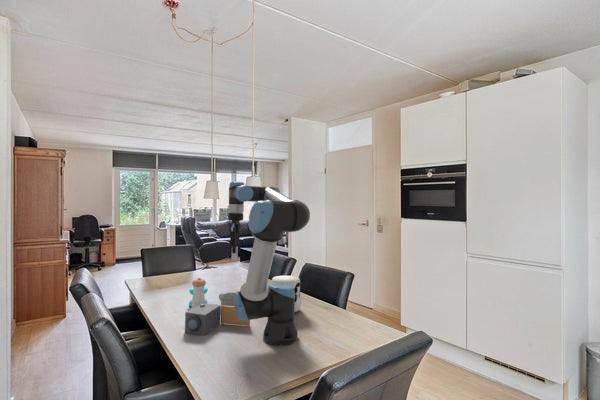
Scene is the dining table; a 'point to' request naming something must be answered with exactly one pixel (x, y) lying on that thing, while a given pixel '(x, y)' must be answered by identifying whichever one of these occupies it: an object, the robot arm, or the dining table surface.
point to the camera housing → (202, 318)
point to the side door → (231, 316)
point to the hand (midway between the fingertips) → (234, 259)
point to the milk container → (293, 283)
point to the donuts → (192, 294)
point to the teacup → (227, 299)
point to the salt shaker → (198, 292)
